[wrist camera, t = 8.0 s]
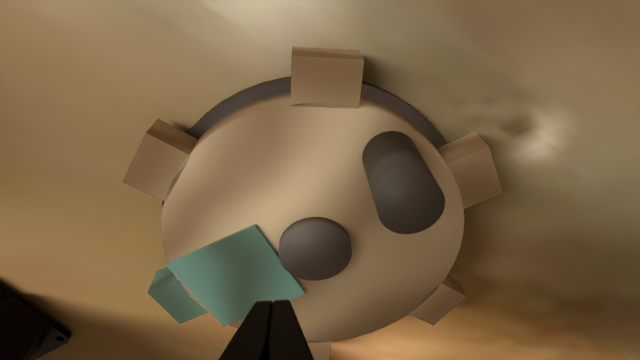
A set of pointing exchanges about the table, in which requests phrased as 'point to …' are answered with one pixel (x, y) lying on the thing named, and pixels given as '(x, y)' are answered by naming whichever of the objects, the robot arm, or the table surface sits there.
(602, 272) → the table surface
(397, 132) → the sprocket disc
